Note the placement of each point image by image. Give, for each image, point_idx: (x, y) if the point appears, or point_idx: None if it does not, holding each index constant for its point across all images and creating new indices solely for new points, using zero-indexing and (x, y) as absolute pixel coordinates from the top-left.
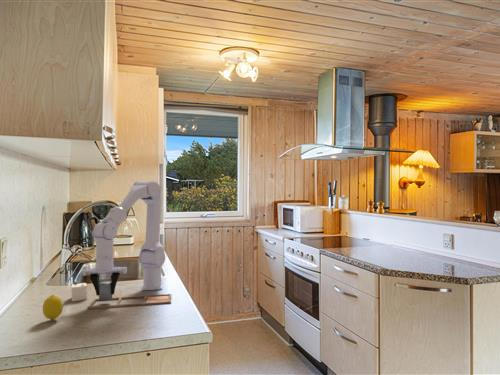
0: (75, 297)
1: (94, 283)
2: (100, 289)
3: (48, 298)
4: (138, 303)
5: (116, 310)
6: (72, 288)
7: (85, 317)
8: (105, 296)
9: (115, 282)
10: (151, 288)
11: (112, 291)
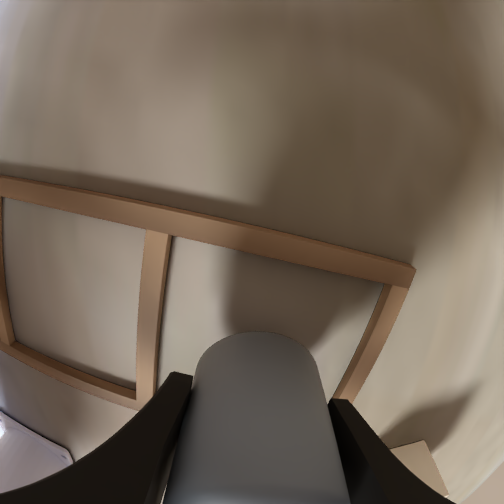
0: (414, 457)
1: (423, 497)
2: (328, 437)
3: None
4: (10, 194)
5: (171, 107)
6: (444, 491)
7: (427, 56)
8: (262, 356)
9: (79, 465)
10: (27, 435)
11: (171, 392)
